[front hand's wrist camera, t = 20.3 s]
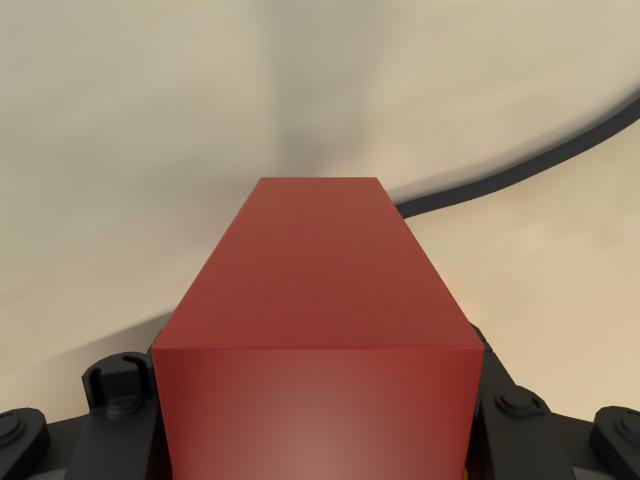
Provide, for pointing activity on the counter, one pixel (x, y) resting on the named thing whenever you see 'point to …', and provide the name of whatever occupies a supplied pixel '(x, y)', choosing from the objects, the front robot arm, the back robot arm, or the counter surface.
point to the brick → (318, 346)
